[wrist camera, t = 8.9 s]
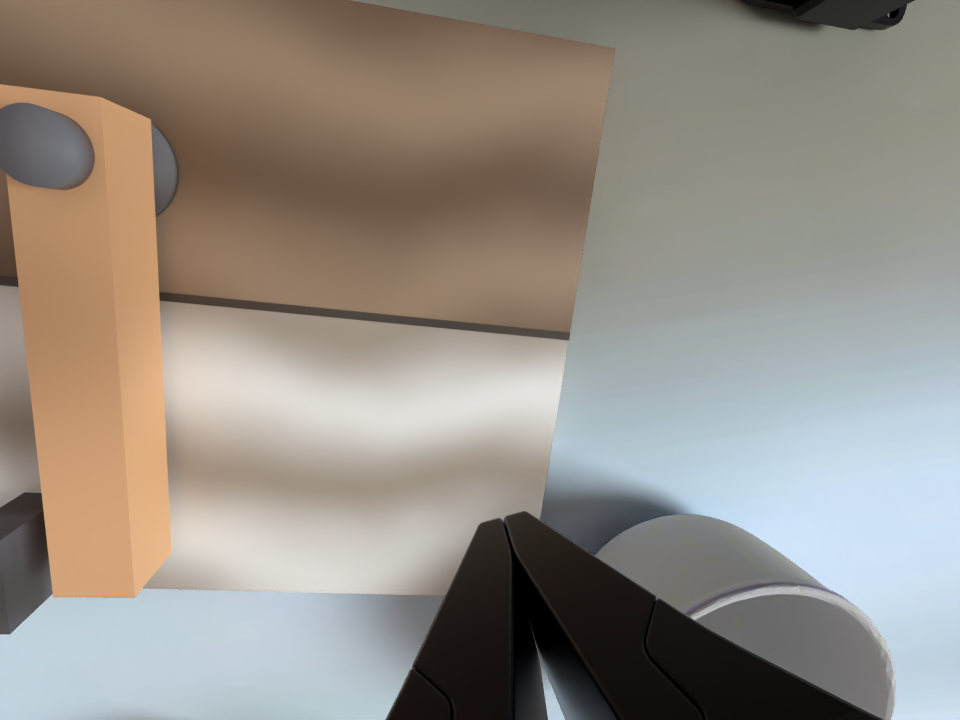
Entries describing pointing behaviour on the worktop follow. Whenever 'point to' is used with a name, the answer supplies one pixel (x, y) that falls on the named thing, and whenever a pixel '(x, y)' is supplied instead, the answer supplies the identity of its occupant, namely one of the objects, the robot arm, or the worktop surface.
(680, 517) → the teacup
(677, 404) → the worktop surface
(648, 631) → the robot arm
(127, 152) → the bar
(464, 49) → the door and jamb
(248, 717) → the worktop surface
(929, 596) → the worktop surface
